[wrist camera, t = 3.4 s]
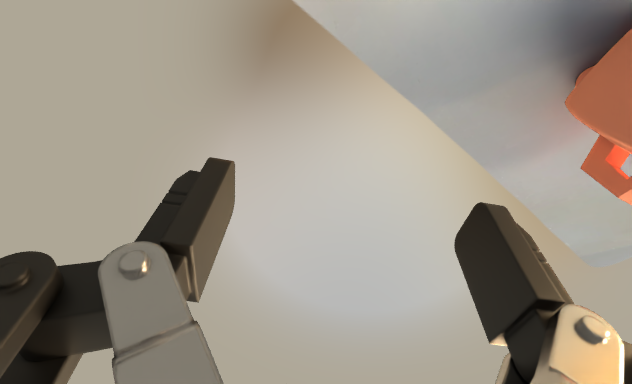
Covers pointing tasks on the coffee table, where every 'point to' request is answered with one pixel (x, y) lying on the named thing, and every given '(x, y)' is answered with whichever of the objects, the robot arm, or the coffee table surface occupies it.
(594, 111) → the teapot
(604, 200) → the coffee table surface
